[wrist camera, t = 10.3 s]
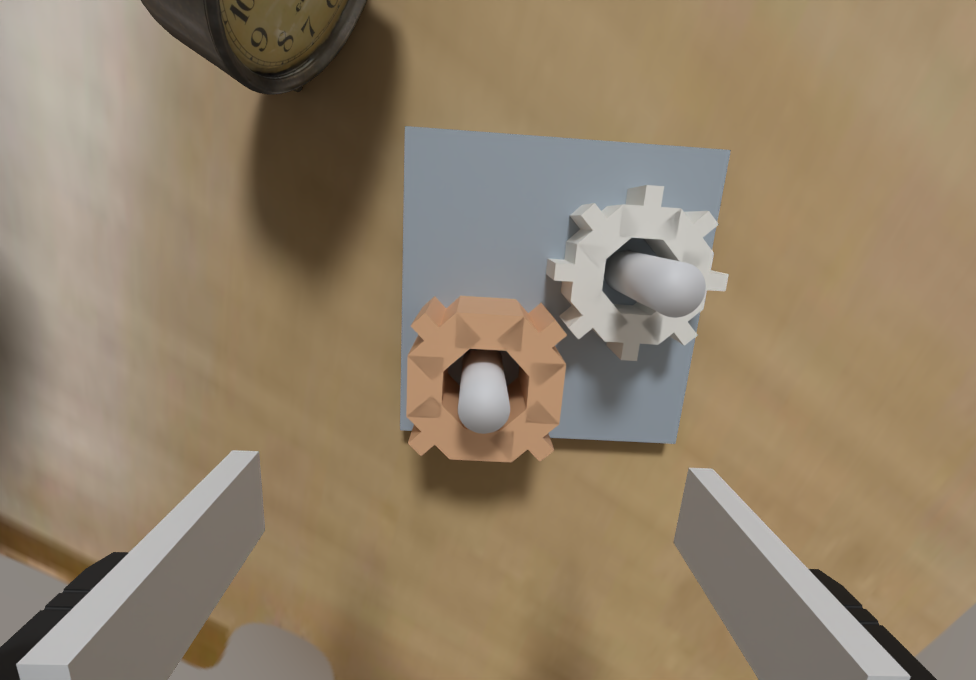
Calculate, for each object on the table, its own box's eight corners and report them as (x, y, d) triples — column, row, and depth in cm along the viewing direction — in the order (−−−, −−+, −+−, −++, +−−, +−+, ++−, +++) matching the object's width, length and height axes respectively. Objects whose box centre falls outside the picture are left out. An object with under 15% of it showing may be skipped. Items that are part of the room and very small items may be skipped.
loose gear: (417, 417, 29) (405, 457, 24) (420, 293, 27) (408, 309, 22) (542, 423, 29) (554, 464, 24) (554, 301, 27) (571, 319, 22)
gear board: (403, 420, 31) (374, 500, 22) (409, 131, 26) (374, 87, 17) (666, 433, 31) (738, 516, 22) (716, 153, 27) (832, 122, 18)
